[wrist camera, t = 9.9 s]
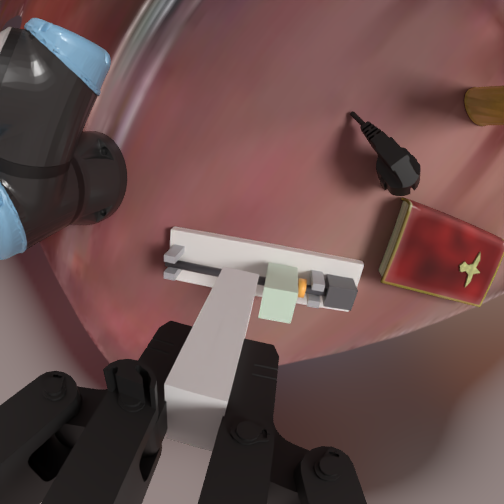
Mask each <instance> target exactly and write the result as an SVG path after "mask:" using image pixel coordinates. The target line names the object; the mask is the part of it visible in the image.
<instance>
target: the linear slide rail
mask: <svg viewBox="0 0 504 504" xmlns="http://www.w3.org/2000/svg"><path fill="white" fill-rule="evenodd" d="M164 262H165V266H167V267H168V268H167V269H166V270H165V271H164V278H165V279H169V280H180V281H184V282H189V283H194V284H199V285H203V286H208V287H213V286H214V284H215V282H216V280H217V278H218V276H219V274H220V272H221V270H222V268H223V267H229V268H233V269H237V270H242V271H246V272H250V273H255V274H259V279H258V283H257V288H256V292H255V296H259V297H262V295H263V290H264V285H265V280H266V274H267V269H268V263H269V262H270V263H275V264H281V265H286V266H292V267H297V268H298V297H297V300H296V303H298V304H304V305H307V306H308V307H314V308H319V307H322V308H328V309H334V310H341V311H347V312H348V311H349V310H350V311H351V309H352V306H353V303H354V300H355V298H356V295H357V292H358V290H357V286H358V282H359V279H360V276H361V273H362V270H363V267H364V264H363V262H362V261H361V260H356V259H351V258H346V257H341V256H335V255H330V254H325V253H319V252H314V251H309V250H303V249H298V248H293V247H287V246H282V245H276V244H271V243H266V242H260V241H255V240H249V239H244V238H238V237H232V236H227V235H221V234H216V233H210V232H204V231H199V230H193V229H187V228H181V227H176V226H174V227H173V228H172V229H171V236H170V249H169V250H168V251H167V252H166V253H165V254H164Z"/></svg>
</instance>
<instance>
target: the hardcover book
mask: <svg viewBox="0 0 504 504" xmlns="http://www.w3.org/2000/svg"><path fill="white" fill-rule="evenodd" d="M401 200H402V201H403V203H402V206H401V209H400V212H399V215H398V218H397V221H396V224H395V227H394V230H393V233H392V235H391V238H390V241H389V244H388V246H387V249H386V252H385V254H384V257H383V259H382V262H381V264H380V267H379V269H378V271H379V272H380V274H381V276H382V279H381V281H380V282H381V283H385V284H389V285H393V286H397V287H401V288H405V289H409V290H413V291H417V292H421V293H425V294H429V295H433V296H437V297H441V298H445V299H449V300H453V301H457V302H461V303H465V304H469V305H473V306H477V307H480V306H481V304H482V302H483V300H484V298H485V296H486V294H487V292H488V290H489V288H490V286H491V284H492V281H493V279H494V277H495V275H496V273H497V270H498V268H499V266H500V263H501V261H502V258H503V256H504V240H503V239H502V238H500V237H498V236H496V235H493V234H491V233H489V232H487V231H485V230H483V229H480V228H478V227H476V226H474V225H471V224H469V223H467V222H465V221H462V220H460V219H458V218H455V217H453V216H450V215H448V214H445V213H443V212H440V211H438V210H435V209H433V208H430V207H428V206H425V205H422V204H420V203H417V202H414V201H412V200H409V199H406V198H403V197H402V198H401Z"/></svg>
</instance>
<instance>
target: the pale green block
mask: <svg viewBox="0 0 504 504" xmlns="http://www.w3.org/2000/svg"><path fill="white" fill-rule="evenodd" d="M297 297H298V268H297V267H292V266H286V265H281V264H275V263H270V262H269V263H268V269H267V274H266V280H265V285H264V290H263V295H262V301H261V306H260V311H259V317H258V318H262V319H268V320H273V321H279V322H285V323H291V319H292V316H293V312H294V308H295V304H296V300H297Z"/></svg>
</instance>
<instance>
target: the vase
mask: <svg viewBox="0 0 504 504" xmlns="http://www.w3.org/2000/svg"><path fill="white" fill-rule="evenodd" d="M464 104H465V109H466V111H467V114H468V116H469V117H470V119H471V120H472V121H473V122H474V123H475V124H477V125H479V126H486V125H504V86H490V87H473V88H471V89H469V90H468V91H467V92H466V94H465V98H464Z"/></svg>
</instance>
